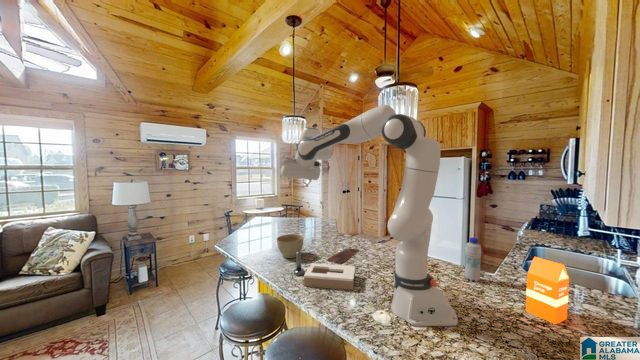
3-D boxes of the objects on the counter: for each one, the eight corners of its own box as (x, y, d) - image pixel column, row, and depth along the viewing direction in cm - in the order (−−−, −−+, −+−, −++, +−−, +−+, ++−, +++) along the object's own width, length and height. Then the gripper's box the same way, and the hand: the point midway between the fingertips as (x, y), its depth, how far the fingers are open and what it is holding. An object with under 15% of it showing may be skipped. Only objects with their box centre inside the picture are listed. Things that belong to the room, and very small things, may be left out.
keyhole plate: (355, 276, 122) (355, 266, 122) (353, 290, 109) (353, 279, 108) (311, 272, 127) (311, 263, 127) (304, 285, 113) (304, 275, 113)
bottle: (482, 279, 118) (483, 237, 116) (479, 284, 113) (480, 240, 111) (466, 275, 122) (467, 234, 121) (462, 279, 117) (463, 237, 116)
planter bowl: (305, 251, 158) (305, 234, 158) (301, 261, 142) (301, 242, 142) (280, 250, 160) (280, 233, 159) (273, 260, 144) (273, 241, 143)
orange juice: (555, 324, 84) (558, 266, 83) (525, 310, 92) (527, 257, 91) (567, 318, 88) (570, 262, 86) (537, 305, 96) (539, 254, 94)
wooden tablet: (347, 246, 164) (361, 247, 159) (347, 249, 164) (361, 250, 159) (325, 259, 142) (340, 261, 137) (325, 263, 142) (341, 265, 137)
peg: (305, 271, 128) (304, 250, 127) (302, 276, 123) (302, 254, 123) (295, 271, 129) (295, 250, 128) (292, 275, 124) (292, 253, 124)
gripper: (286, 158, 116) (279, 186, 119) (324, 164, 126) (317, 189, 129) (282, 155, 121) (276, 181, 125) (318, 160, 131) (312, 185, 135)
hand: (297, 185), depth 127 cm, fingers open, 8 cm apart
